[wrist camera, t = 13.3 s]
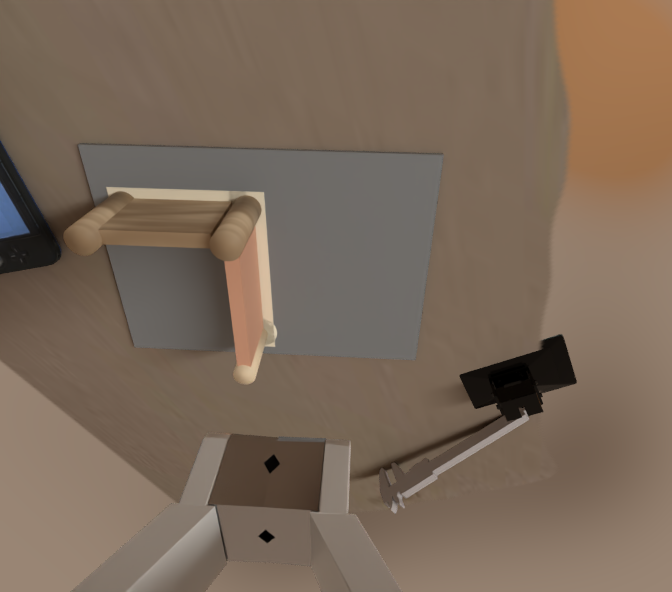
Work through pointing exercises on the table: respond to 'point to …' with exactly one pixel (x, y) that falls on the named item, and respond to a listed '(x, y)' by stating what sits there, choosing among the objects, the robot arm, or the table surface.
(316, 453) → the robot arm
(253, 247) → the fence panel
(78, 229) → the fixed fence
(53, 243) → the handheld game console
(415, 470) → the caliper
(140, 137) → the table surface
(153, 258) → the board
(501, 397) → the black angular piece
